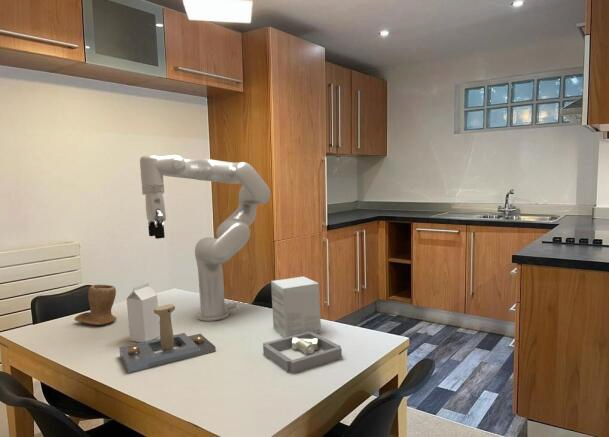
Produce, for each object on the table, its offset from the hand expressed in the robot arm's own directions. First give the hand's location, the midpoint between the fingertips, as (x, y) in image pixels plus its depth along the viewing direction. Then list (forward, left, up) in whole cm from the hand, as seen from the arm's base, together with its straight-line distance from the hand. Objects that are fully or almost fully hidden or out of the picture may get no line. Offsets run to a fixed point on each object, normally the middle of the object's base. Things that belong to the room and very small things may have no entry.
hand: (156, 237), depth 160 cm
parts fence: (-28, +53, -34) cm, 69 cm away
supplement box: (-38, +33, -35) cm, 61 cm away
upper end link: (+8, +26, -34) cm, 44 cm away
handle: (+5, +26, -34) cm, 43 cm away
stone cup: (+19, -25, -35) cm, 47 cm away
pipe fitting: (-30, +51, -35) cm, 69 cm away
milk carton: (+8, +7, -34) cm, 36 cm away
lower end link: (+2, +26, -34) cm, 43 cm away
